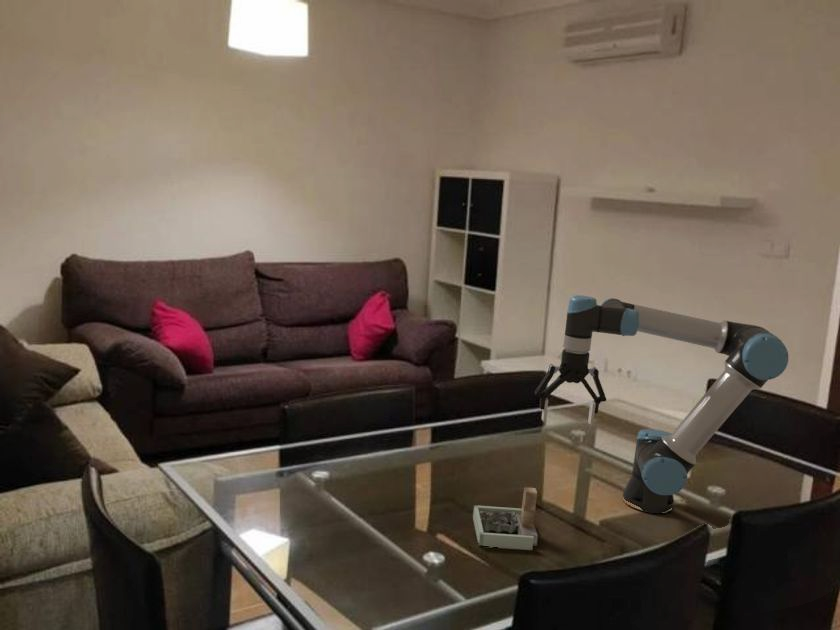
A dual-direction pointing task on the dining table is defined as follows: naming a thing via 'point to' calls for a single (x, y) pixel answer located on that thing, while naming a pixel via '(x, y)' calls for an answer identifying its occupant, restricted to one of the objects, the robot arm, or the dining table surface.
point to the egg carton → (498, 521)
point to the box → (500, 539)
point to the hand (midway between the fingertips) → (567, 422)
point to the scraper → (527, 515)
